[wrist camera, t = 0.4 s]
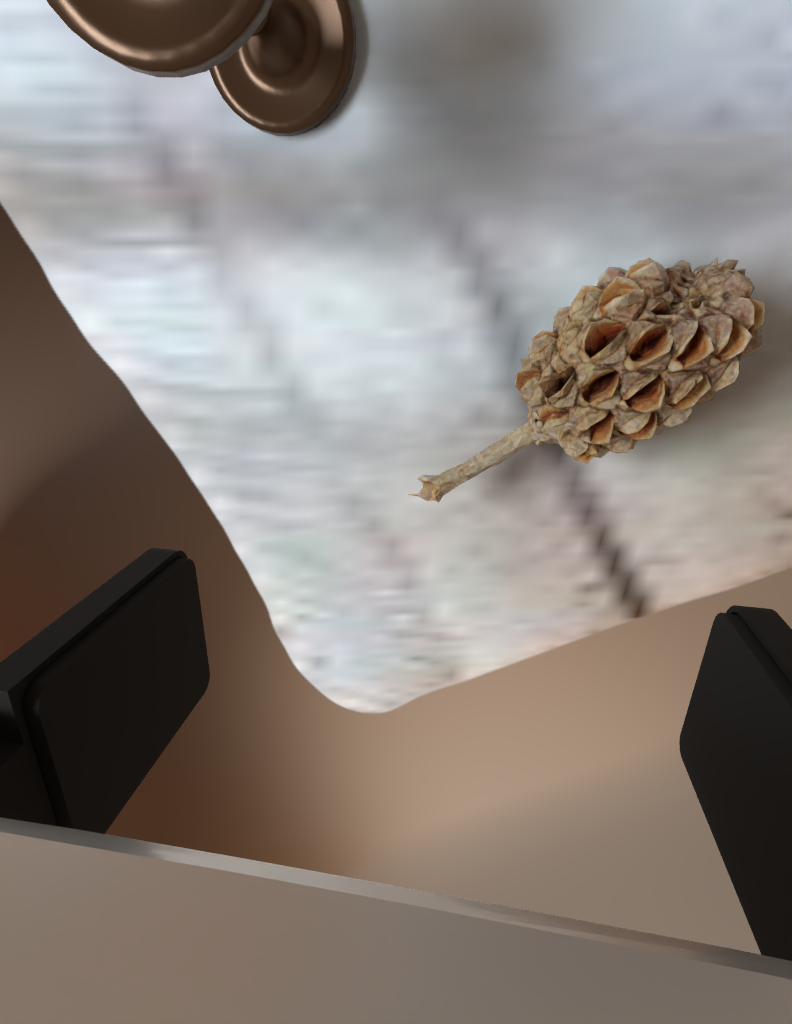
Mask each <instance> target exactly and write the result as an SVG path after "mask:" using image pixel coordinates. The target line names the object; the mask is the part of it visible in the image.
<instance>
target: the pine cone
mask: <svg viewBox="0 0 792 1024" xmlns="http://www.w3.org/2000/svg"><path fill="white" fill-rule="evenodd" d="M737 262H738V260H726V261H725V262H723V263H722V264H718V258H717V259H715V260H714V261H713V262H712V263H711V264H709V265H705V266H701V267H698V268H697V269H696V270H695V271H694V272H693V273H692V272H691V267H690V263H688V262H686V261H683V260H681V261H679V262H677V263H676V264H675V265H674V267H673V268H667V269H666V270H665V268H664V267H663V266H662V265H660V264H659V263H657V262H655V261H654V260H652V259H651V258H648V259H646V260H644V261H638V262H637V264H635V265H632V266H631V267H630V268H629V270H628V271H625V270H624V269H622V268H616V267H608V268H607V269H606V271H605V272H604V273H603V274H602V275H601V276H600V278H599V280H598V284H597V287H596V286H582V288H581V290H580V291H579V293H578V295H577V296H576V298H575V299H574V301H573V302H572V306H571V307H565V308H559V310H558V312H557V314H556V315H555V317H554V326H553V332H548V331H542V332H541V333H539V334H538V335H537V336H535V337H534V338H533V339H532V343H531V345H530V347H529V355H528V356H526V357H524V358H523V359H521V368H522V371H520V372H519V373H518V374H516V387H517V389H518V390H519V391H520V395H521V400H523V401H524V402H526V403H527V407H528V410H529V412H528V416H527V418H528V420H529V422H527V423H525V424H523V425H522V426H520V427H518V428H517V429H515V430H514V431H513V432H511V433H510V434H508V435H507V436H505V437H504V438H503V439H501V440H500V441H498V442H496V443H494V444H492V445H490V446H489V447H487V448H486V449H484V450H483V451H482V452H480V453H479V454H477V455H476V456H474V457H472V458H471V459H469V460H468V461H466V462H465V463H463V464H461V465H458V466H456V467H454V468H452V469H449V470H447V471H445V472H443V473H442V474H441V475H438V476H431V475H421V476H419V477H418V478H417V479H418V480H420V481H421V482H422V485H423V488H422V490H421V491H420V493H417V494H409V495H413V496H419V497H421V498H423V499H425V500H426V501H431V500H435V501H437V502H439V501H440V500H441V498H442V496H443V495H445V494H446V493H448V492H449V491H451V490H452V489H454V488H455V487H457V486H458V485H460V484H462V483H464V482H465V481H467V480H469V479H471V478H472V477H474V476H476V475H478V474H479V473H481V472H483V471H484V470H486V469H488V468H490V467H492V466H494V465H497V464H499V463H501V462H502V461H503V460H505V459H506V458H507V457H509V456H511V455H513V454H515V453H516V452H517V451H519V450H521V449H522V448H524V447H526V446H528V445H531V444H533V443H536V444H537V445H538V446H540V447H541V446H542V445H543V444H544V443H549V444H559V445H560V446H561V447H562V448H563V449H564V450H565V452H566V454H567V455H570V456H573V457H574V459H575V460H578V461H581V462H584V463H588V462H589V461H590V460H591V459H592V458H594V457H599V458H601V457H602V456H604V455H605V454H606V453H607V452H608V451H612V452H615V453H627V452H628V451H629V450H630V449H633V447H634V445H635V443H636V441H637V440H638V439H651V438H652V436H653V434H659V433H660V432H661V431H662V429H663V428H664V426H667V427H673V426H676V425H679V424H682V423H684V422H688V421H689V417H690V413H691V412H692V406H693V405H694V404H699V403H702V402H706V401H709V400H712V398H713V396H714V393H715V391H718V390H720V389H724V388H725V387H727V386H728V385H729V384H731V383H733V382H735V380H736V379H737V376H738V374H739V369H740V366H739V360H740V359H741V358H742V357H744V356H746V355H749V354H752V353H755V352H756V350H757V349H758V348H759V346H760V345H761V344H762V340H761V328H759V327H760V326H762V325H763V324H764V316H765V303H764V302H762V301H758V300H755V299H752V298H750V295H751V293H752V291H753V289H754V286H753V284H752V282H751V281H750V279H749V278H747V277H746V276H745V269H739V270H734V269H735V267H736V264H737Z"/></svg>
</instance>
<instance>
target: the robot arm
mask: <svg viewBox="0 0 792 1024" xmlns="http://www.w3.org/2000/svg"><path fill="white" fill-rule="evenodd" d="M209 678H210V672H209V664H208V657H207V649H206V642H205V635H204V627H203V621H202V613H201V605H200V598H199V591H198V583H197V576H196V569H195V564H194V562H193V561H192V560H191V559H188V558H187V556H186V554H185V553H184V552H183V551H179V550H169V549H168V550H167V549H159V548H151V549H149V550H147V551H146V552H145V553H144V554H142V555H141V556H140V557H138V558H137V559H136V560H134V561H133V562H132V563H130V564H129V565H128V566H127V567H125V568H124V569H123V570H121V571H120V572H119V573H117V574H116V575H115V576H113V577H112V578H111V579H109V580H108V581H107V582H106V583H104V584H103V585H102V586H100V587H99V588H98V589H96V590H95V591H94V592H92V593H91V594H90V595H88V596H87V597H86V598H84V599H83V600H82V601H81V602H79V603H78V604H77V605H75V606H74V607H73V608H71V609H70V610H69V611H67V612H66V613H65V614H63V615H62V616H61V617H60V618H58V619H57V620H56V621H54V622H53V623H52V624H50V625H49V626H48V627H47V628H45V629H44V630H42V631H41V632H40V633H39V634H37V635H36V636H35V637H33V638H32V639H31V640H29V641H28V642H27V643H25V644H24V645H23V646H21V647H20V648H19V649H17V650H16V651H15V652H14V653H12V654H11V655H10V656H8V657H7V658H6V659H5V660H3V661H2V662H0V1024H792V629H791V628H790V627H789V626H788V625H787V624H786V622H785V621H784V620H783V619H782V618H781V617H780V616H779V615H778V613H777V612H775V611H774V610H772V609H765V608H755V607H744V606H732V607H730V608H729V609H728V610H727V612H726V613H719V614H717V616H716V617H715V620H714V622H713V625H712V629H711V632H710V636H709V639H708V643H707V646H706V649H705V653H704V657H703V660H702V663H701V666H700V670H699V673H698V677H697V680H696V683H695V687H694V690H693V693H692V697H691V700H690V704H689V707H688V711H687V714H686V718H685V721H684V724H683V728H682V731H681V735H680V753H681V757H682V760H683V762H684V765H685V767H686V769H687V772H688V774H689V777H690V780H691V782H692V785H693V787H694V789H695V792H696V794H697V797H698V799H699V802H700V804H701V807H702V809H703V811H704V814H705V817H706V819H707V821H708V824H709V826H710V829H711V831H712V834H713V836H714V839H715V841H716V844H717V846H718V849H719V851H720V854H721V856H722V858H723V861H724V863H725V866H726V868H727V871H728V873H729V875H730V878H731V881H732V883H733V885H734V888H735V891H736V893H737V895H738V898H739V900H740V903H741V905H742V908H743V910H744V913H745V915H746V918H747V920H748V922H749V925H750V928H751V930H752V932H753V935H754V937H755V940H756V942H757V945H758V947H759V950H760V952H761V955H759V954H754V953H749V952H744V951H740V950H734V949H730V948H725V947H720V946H715V945H710V944H705V943H700V942H694V941H689V940H684V939H678V938H673V937H668V936H662V935H657V934H652V933H646V932H641V931H636V930H630V929H625V928H620V927H614V926H609V925H604V924H598V923H593V922H587V921H582V920H577V919H572V918H566V917H561V916H555V915H550V914H545V913H539V912H534V911H529V910H523V909H518V908H513V907H508V906H502V905H497V904H491V903H485V902H481V901H475V900H470V899H464V898H459V897H453V896H448V895H442V894H437V893H431V892H426V891H420V890H414V889H409V888H404V887H398V886H392V885H387V884H382V883H377V882H371V881H366V880H360V879H354V878H349V877H343V876H337V875H332V874H327V873H321V872H315V871H310V870H305V869H299V868H293V867H288V866H282V865H277V864H271V863H266V862H260V861H254V860H249V859H243V858H237V857H231V856H226V855H220V854H215V853H208V852H203V851H198V850H192V849H186V848H180V847H175V846H169V845H163V844H157V843H151V842H146V841H140V840H135V839H129V838H123V837H118V836H112V835H106V834H105V832H106V831H107V829H108V828H109V827H110V825H111V824H112V823H113V821H114V820H115V818H116V817H117V816H118V814H119V813H120V811H121V810H122V809H123V807H124V806H125V804H126V803H127V801H128V800H129V799H130V797H131V796H132V794H133V793H134V791H135V790H136V789H137V787H138V786H139V785H140V783H141V782H142V780H143V779H144V778H145V776H146V775H147V773H148V772H149V770H150V769H151V767H152V766H153V765H154V763H155V762H156V760H157V759H158V758H159V756H160V755H161V753H162V752H163V751H164V749H165V748H166V746H167V745H168V744H169V742H170V741H171V739H172V738H173V737H174V735H175V734H176V732H177V731H178V730H179V728H180V727H181V725H182V724H183V723H184V721H185V720H186V718H187V717H188V715H189V714H190V713H191V711H192V710H193V708H194V707H195V706H196V704H197V703H198V701H199V700H200V699H201V697H202V696H203V694H204V693H205V691H206V689H207V686H208V683H209Z"/></svg>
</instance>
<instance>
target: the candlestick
mask: <svg viewBox="0 0 792 1024" xmlns="http://www.w3.org/2000/svg"><path fill="white" fill-rule="evenodd" d="M47 2H48V3H49V5H50V6H51V7H52V8H53V9H54V11H55V12H56V13H57V14H58V15H59V16H60V18H61V19H62V20H63V21H64V22H65V23H66V25H67V26H68V27H69V28H70V29H71V30H72V31H73V32H75V33H76V34H77V35H78V36H80V37H81V38H82V39H83V40H84V41H86V42H87V43H88V44H89V45H90V46H92V47H93V48H94V49H96V50H98V51H99V52H101V53H103V54H104V55H106V56H108V57H109V58H111V59H113V60H115V61H117V62H118V63H120V64H122V65H124V66H126V67H128V68H130V69H132V70H134V71H137V72H141V73H144V74H148V75H152V76H156V77H186V76H189V75H193V74H197V73H201V72H205V71H207V70H210V73H211V75H212V78H213V81H214V83H215V85H216V87H217V89H218V90H219V92H220V94H221V96H222V97H223V99H224V100H225V101H226V103H227V104H228V105H229V106H230V107H231V109H232V110H233V111H234V112H235V113H236V114H237V115H239V116H240V117H241V118H242V119H243V120H245V121H246V122H247V123H249V124H250V125H252V126H254V127H256V128H258V129H259V130H261V131H263V132H266V133H270V134H274V135H278V136H292V135H297V134H301V133H305V132H307V131H309V130H311V129H313V128H315V127H317V126H318V125H319V124H321V123H322V122H323V121H324V120H326V119H327V118H328V117H329V116H330V115H331V114H332V112H333V111H334V110H335V109H336V107H337V106H338V105H339V103H340V101H341V100H342V98H343V96H344V94H345V92H346V90H347V88H348V85H349V82H350V79H351V76H352V73H353V67H354V61H355V56H356V33H355V26H354V18H353V14H352V11H351V8H350V4H349V1H348V0H47Z"/></svg>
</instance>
